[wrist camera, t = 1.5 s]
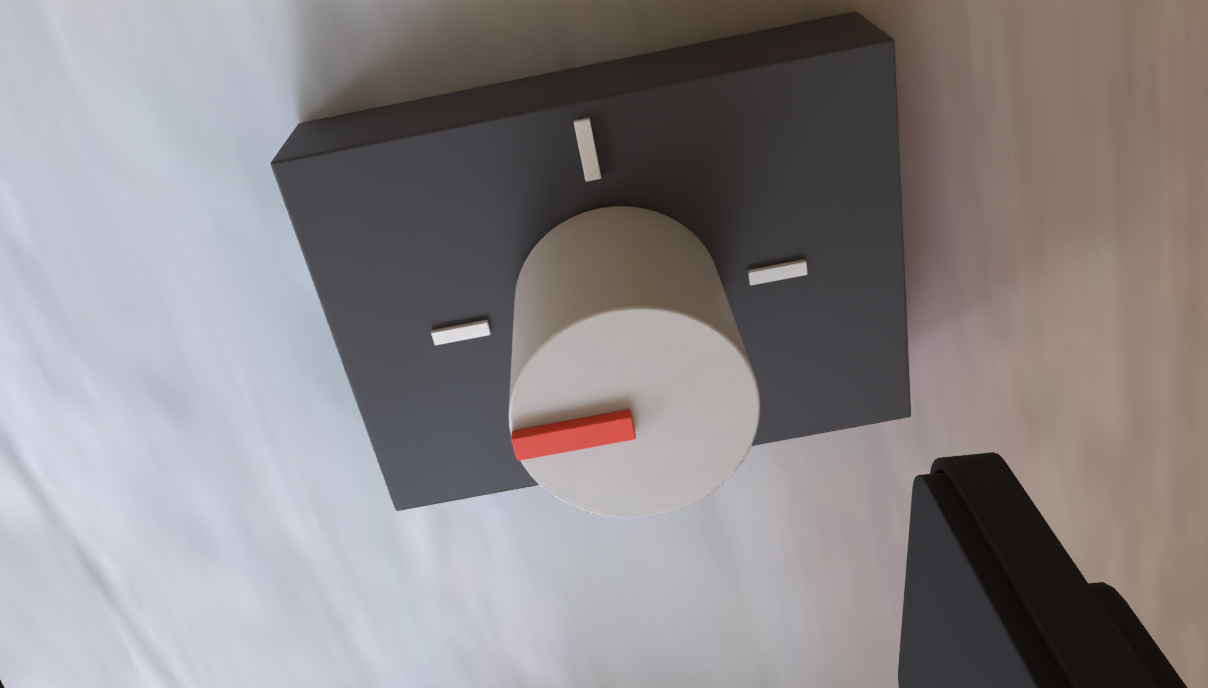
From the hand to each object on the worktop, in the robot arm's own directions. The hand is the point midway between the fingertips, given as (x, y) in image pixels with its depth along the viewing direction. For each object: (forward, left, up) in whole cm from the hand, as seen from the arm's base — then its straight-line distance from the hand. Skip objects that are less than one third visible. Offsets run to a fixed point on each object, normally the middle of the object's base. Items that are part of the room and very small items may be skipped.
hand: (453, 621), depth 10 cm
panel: (-2, +4, -18) cm, 18 cm away
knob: (-2, +4, -15) cm, 15 cm away
